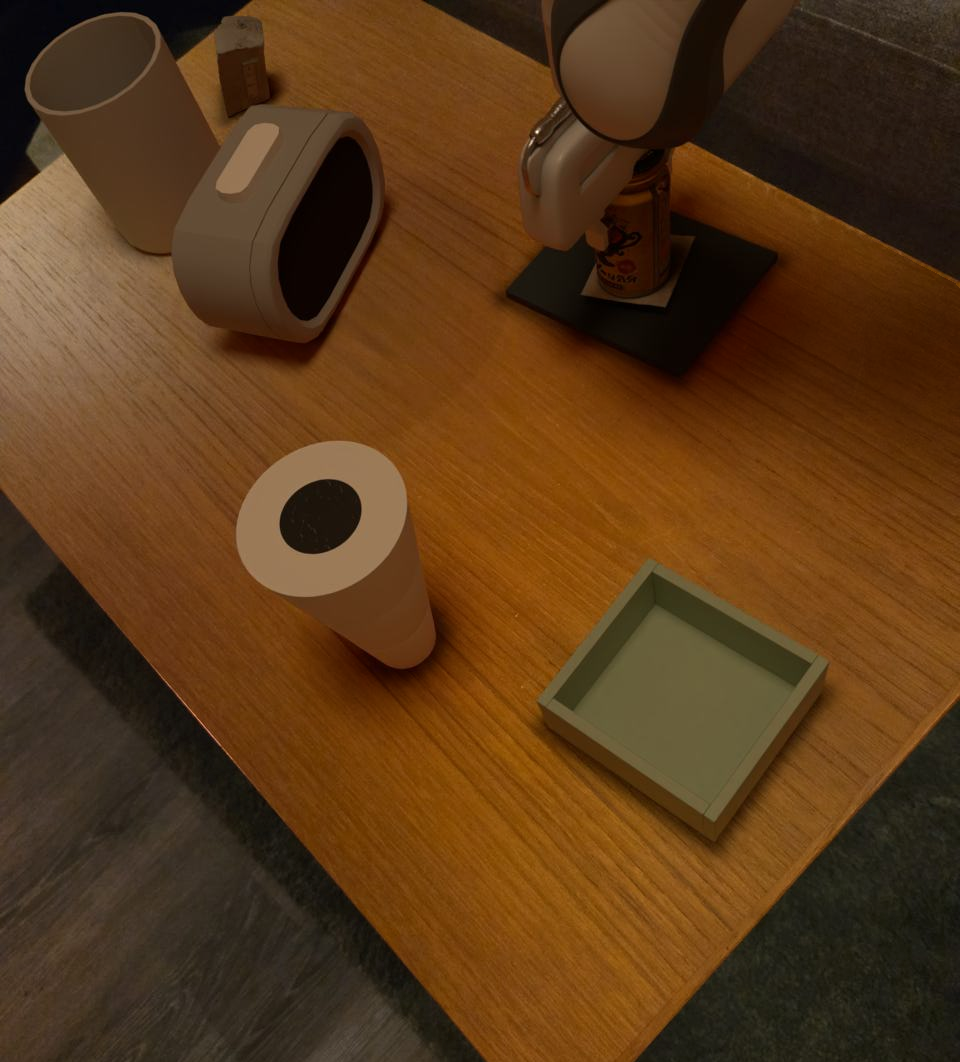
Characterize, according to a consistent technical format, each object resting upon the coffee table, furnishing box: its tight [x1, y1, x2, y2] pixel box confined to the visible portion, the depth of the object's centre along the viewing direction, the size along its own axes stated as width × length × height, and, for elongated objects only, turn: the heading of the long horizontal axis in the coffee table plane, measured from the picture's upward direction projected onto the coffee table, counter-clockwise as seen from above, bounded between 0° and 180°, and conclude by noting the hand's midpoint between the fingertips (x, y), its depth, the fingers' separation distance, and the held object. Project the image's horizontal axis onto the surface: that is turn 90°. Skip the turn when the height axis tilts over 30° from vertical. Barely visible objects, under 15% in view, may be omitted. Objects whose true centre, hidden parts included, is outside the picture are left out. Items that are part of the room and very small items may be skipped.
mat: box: [505, 210, 779, 380], centre depth 83 cm, size 18×14×1 cm
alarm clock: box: [171, 103, 386, 344], centre depth 86 cm, size 21×10×13 cm, turn 158°
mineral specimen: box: [213, 15, 271, 117], centre depth 101 cm, size 7×9×8 cm
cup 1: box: [24, 11, 221, 255], centre depth 94 cm, size 13×18×16 cm
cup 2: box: [235, 440, 437, 670], centre depth 66 cm, size 11×11×18 cm
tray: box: [536, 557, 831, 843], centre depth 65 cm, size 14×13×5 cm
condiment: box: [580, 149, 695, 307], centre depth 77 cm, size 7×8×12 cm
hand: (630, 209), depth 77 cm, fingers closed on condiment, 6 cm apart
